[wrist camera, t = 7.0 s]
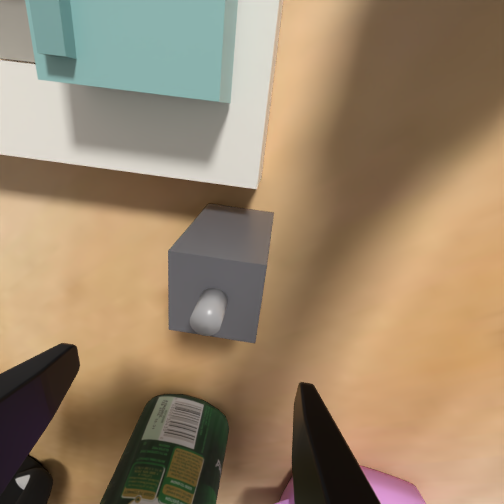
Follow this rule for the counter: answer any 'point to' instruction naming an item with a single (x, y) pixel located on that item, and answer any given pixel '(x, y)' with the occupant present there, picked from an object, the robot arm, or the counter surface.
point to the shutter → (137, 45)
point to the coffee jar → (172, 454)
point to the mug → (28, 485)
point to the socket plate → (143, 111)
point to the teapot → (375, 489)
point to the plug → (220, 273)
